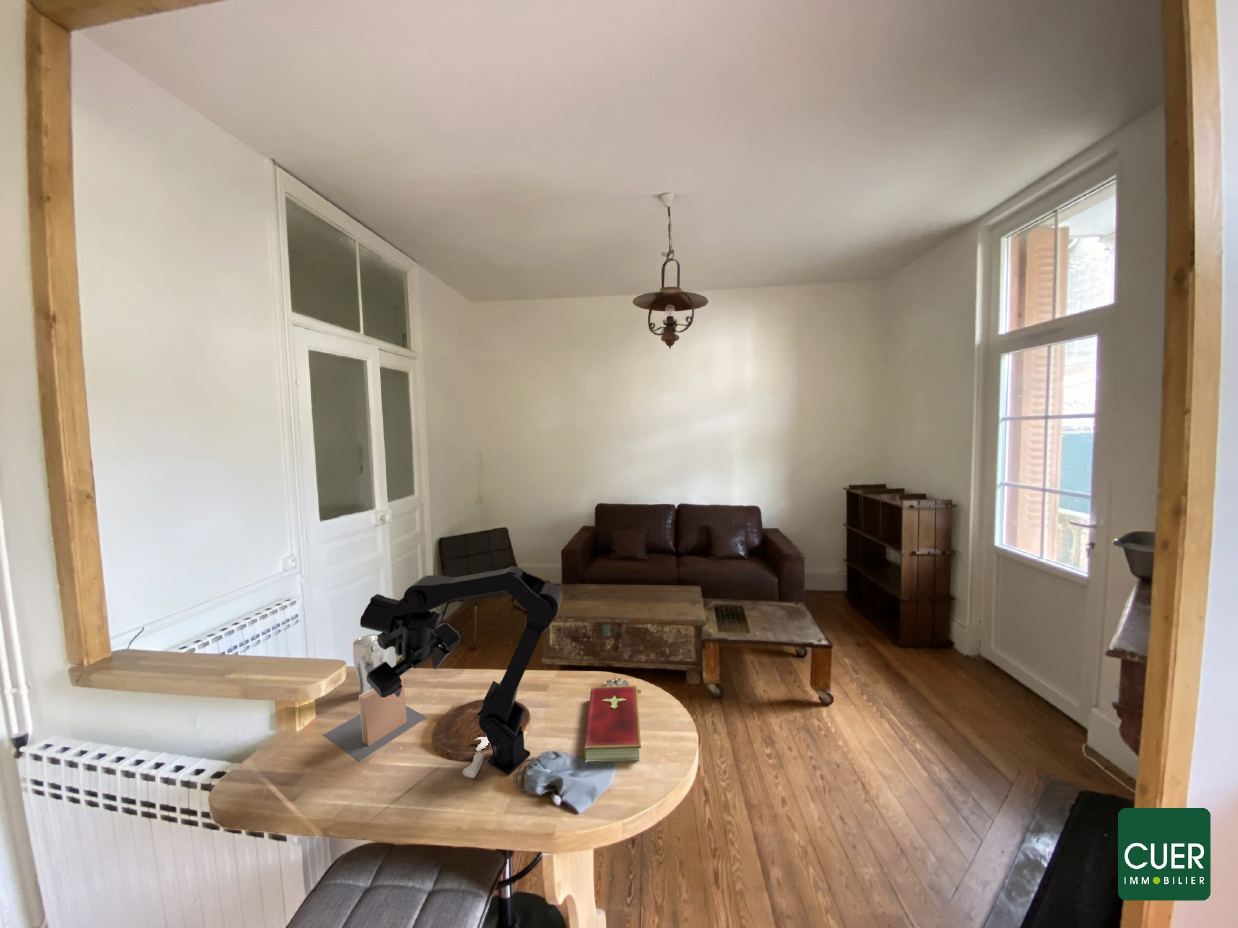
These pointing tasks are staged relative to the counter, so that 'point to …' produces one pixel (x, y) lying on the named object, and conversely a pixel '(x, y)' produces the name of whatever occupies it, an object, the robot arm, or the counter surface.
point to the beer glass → (366, 659)
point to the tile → (381, 714)
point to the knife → (476, 759)
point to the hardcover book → (613, 725)
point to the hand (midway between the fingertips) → (416, 681)
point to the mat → (352, 739)
